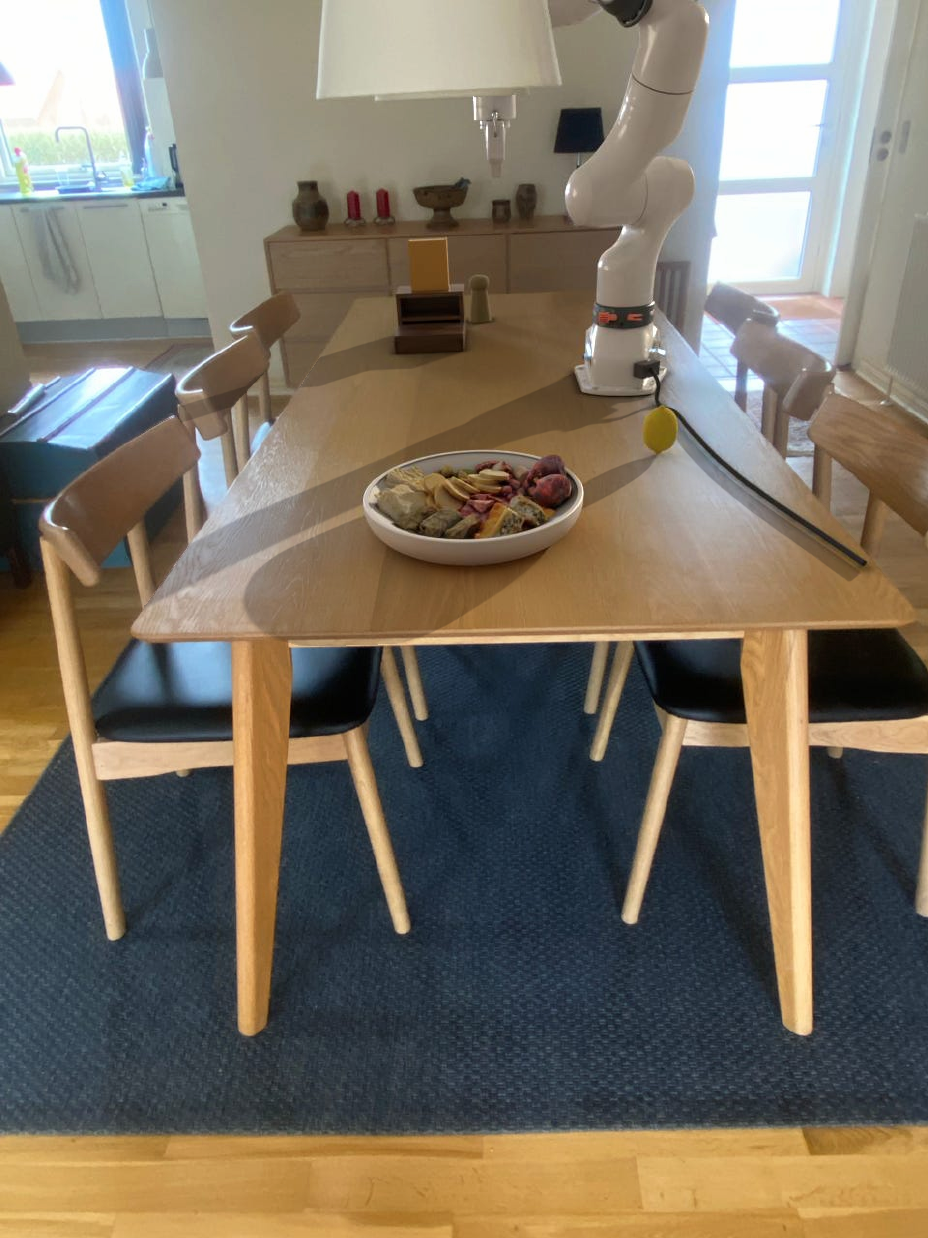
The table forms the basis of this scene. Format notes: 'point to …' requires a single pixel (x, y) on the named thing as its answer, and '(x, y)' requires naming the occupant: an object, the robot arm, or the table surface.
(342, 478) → the table surface
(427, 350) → the wooden l-shaped block
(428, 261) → the book
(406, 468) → the bowl
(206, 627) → the table surface
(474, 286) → the tan pawn game piece
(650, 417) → the lemon
